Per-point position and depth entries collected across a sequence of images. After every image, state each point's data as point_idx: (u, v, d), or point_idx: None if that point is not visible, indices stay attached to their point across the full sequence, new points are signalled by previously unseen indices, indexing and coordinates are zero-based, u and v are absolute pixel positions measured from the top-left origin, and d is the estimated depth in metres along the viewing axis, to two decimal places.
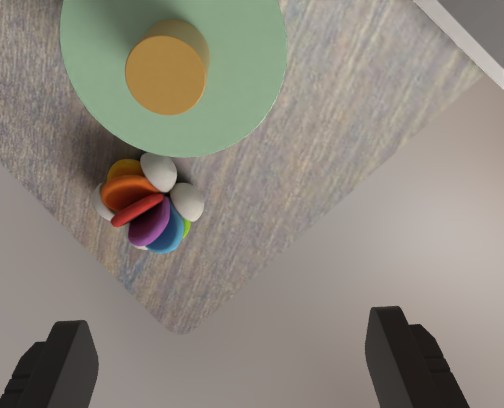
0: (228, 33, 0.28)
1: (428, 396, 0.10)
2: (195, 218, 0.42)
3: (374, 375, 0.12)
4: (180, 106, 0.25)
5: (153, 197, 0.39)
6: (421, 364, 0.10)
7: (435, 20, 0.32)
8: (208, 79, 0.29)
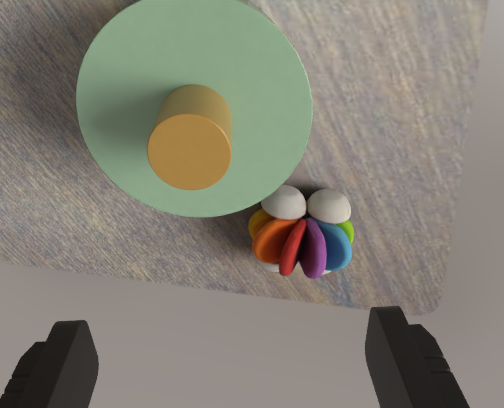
0: (214, 62, 0.25)
1: (428, 396, 0.10)
2: (347, 215, 0.38)
3: (374, 375, 0.12)
4: (222, 164, 0.23)
5: (295, 228, 0.37)
6: (421, 364, 0.10)
7: None
8: (236, 111, 0.27)
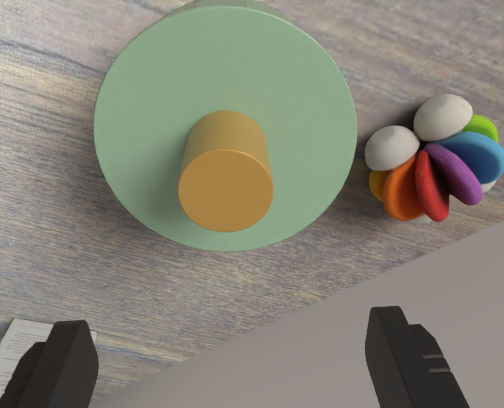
0: (198, 86, 0.22)
1: (428, 396, 0.10)
2: (467, 112, 0.30)
3: (374, 375, 0.12)
4: (262, 179, 0.20)
5: (418, 166, 0.30)
6: (421, 364, 0.10)
7: None
8: (254, 112, 0.23)
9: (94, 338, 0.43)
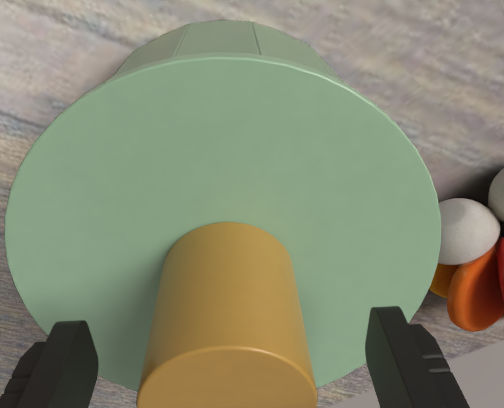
0: (180, 187, 0.13)
1: (428, 396, 0.10)
2: None
3: (374, 375, 0.12)
4: (297, 389, 0.10)
5: (503, 265, 0.21)
6: (421, 364, 0.10)
7: None
8: (275, 224, 0.14)
9: None
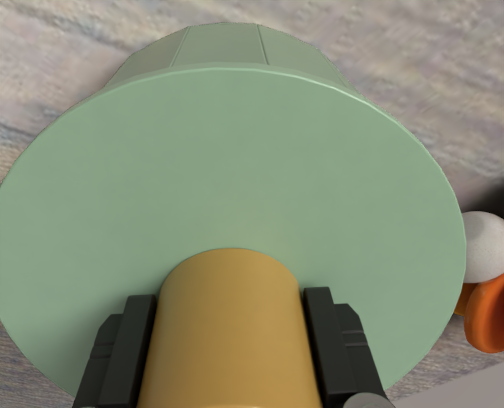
0: (177, 210, 0.12)
1: (339, 365, 0.10)
2: None
3: None
4: None
5: None
6: (338, 337, 0.11)
7: None
8: (283, 250, 0.13)
9: None
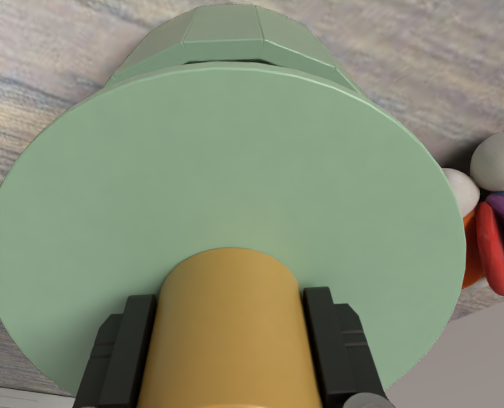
0: (177, 209, 0.12)
1: (339, 365, 0.10)
2: None
3: None
4: None
5: (480, 226, 0.23)
6: (338, 337, 0.11)
7: None
8: (282, 249, 0.13)
9: None
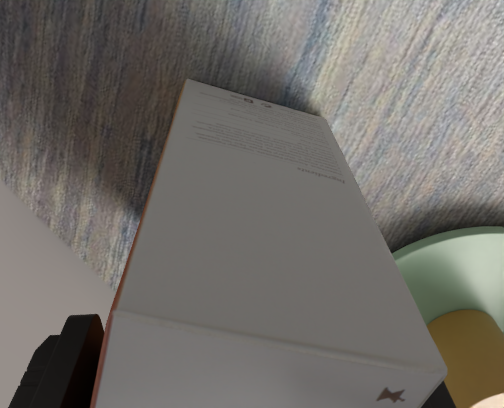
0: None
1: None
2: None
3: None
4: None
5: None
6: None
7: None
8: None
9: None
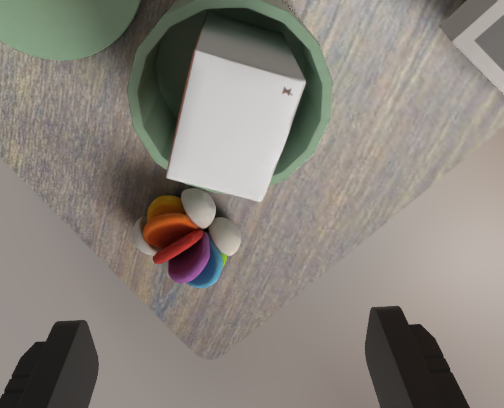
0: None
1: (428, 396, 0.10)
2: (233, 253, 0.42)
3: (374, 375, 0.12)
4: None
5: (195, 234, 0.39)
6: (421, 364, 0.10)
7: (480, 68, 0.33)
8: None
9: None
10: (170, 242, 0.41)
